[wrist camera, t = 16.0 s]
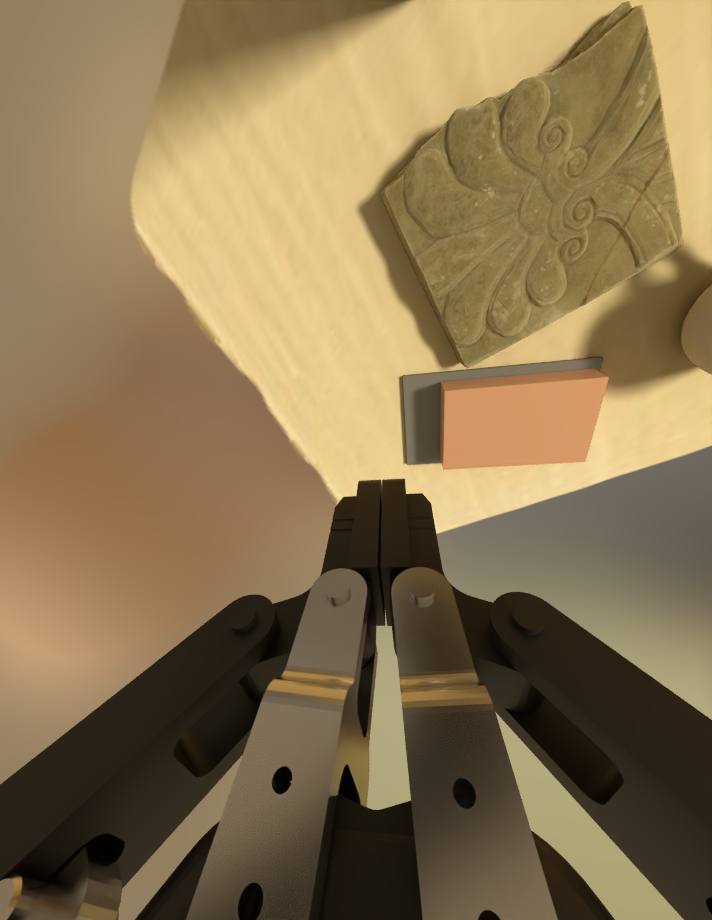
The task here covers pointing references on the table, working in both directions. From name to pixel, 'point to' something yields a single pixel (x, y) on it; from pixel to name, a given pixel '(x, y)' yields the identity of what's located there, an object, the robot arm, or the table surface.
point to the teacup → (699, 332)
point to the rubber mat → (426, 401)
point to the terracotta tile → (520, 419)
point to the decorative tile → (542, 193)
